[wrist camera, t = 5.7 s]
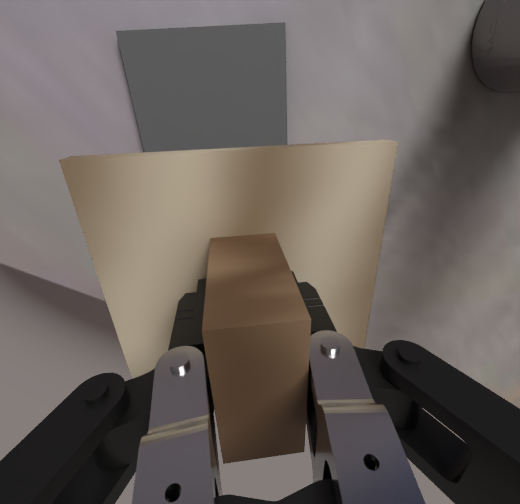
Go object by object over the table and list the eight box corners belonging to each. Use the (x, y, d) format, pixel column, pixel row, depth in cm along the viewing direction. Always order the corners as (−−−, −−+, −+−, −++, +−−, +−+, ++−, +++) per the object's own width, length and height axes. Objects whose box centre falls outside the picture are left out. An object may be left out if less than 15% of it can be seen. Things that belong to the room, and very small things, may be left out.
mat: (283, 25, 22) (285, 22, 21) (286, 183, 27) (287, 185, 27) (119, 33, 21) (115, 31, 20) (157, 195, 27) (155, 197, 26)
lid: (386, 139, 11) (541, 169, 5) (354, 359, 16) (419, 483, 10) (71, 156, 10) (-103, 211, 5) (142, 384, 15) (99, 535, 9)
